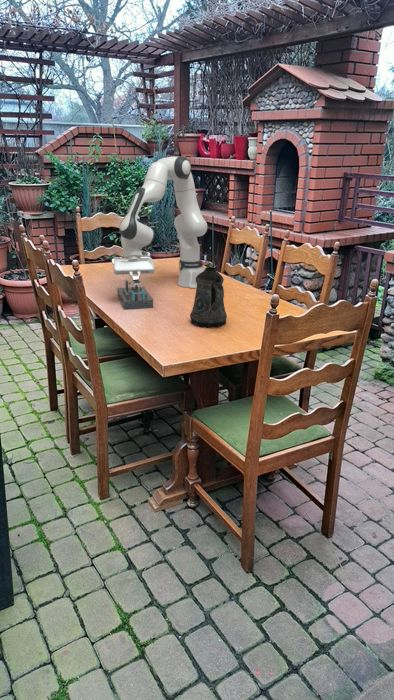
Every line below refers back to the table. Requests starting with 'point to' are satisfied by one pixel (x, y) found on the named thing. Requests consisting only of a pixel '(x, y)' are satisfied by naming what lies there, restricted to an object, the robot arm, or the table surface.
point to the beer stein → (209, 300)
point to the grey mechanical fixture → (134, 297)
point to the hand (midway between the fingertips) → (135, 280)
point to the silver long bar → (134, 283)
